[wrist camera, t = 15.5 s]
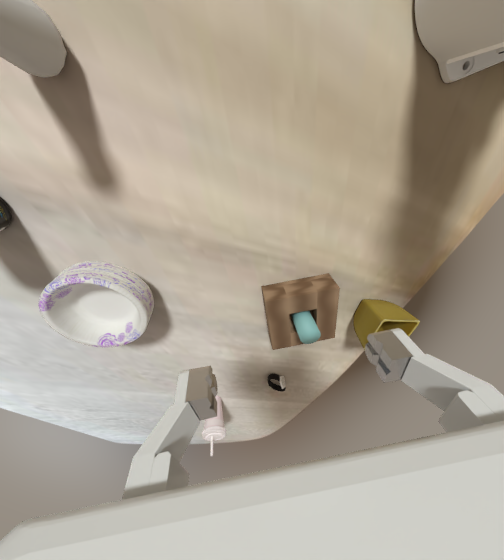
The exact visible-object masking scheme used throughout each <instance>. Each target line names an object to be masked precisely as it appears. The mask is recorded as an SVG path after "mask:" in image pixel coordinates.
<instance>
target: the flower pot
mask: <svg viewBox="0 0 504 560" xmlns="http://www.w3.org/2000/svg"><path fill="white" fill-rule="evenodd" d="M419 323H420V321H419V320H418V319H416V318H415V317H414V316H412V315H411V314H409V313H408V312H407V311H405V310H404V309H403V308H401V307H399V306H398V305H395V304H393V303H390V302H387V301H383V300H369V299H363V300H362V301H361V303H360V305H359V307H358V309H357V310H356V312H355V314H354V329H355V332H356V334H357V336H358V338H359V340H360V342H361V344H362V346H363V348H364V350H365V346H366V344H367V343H368V342H369V341H368V339H367V337H368V335H369V334H371V333H376V332H380V331H385V330H391V329H396V328H400V329H402V330H403V331H404V332H405V333H406V335H407V336H408V337H409V336H410V335H411V333H412V332H413V331H414V330H415V328H416V327H417V326H418V324H419Z"/></svg>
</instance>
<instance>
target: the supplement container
mask: <svg viewBox="0 0 504 560" xmlns="http://www.w3.org/2000/svg"><path fill="white" fill-rule="evenodd" d="M11 219H12V216H11V212H10V209H9V208H8V206H7V204H6V203H5V202H4V201H3V200H2V199H1V198H0V231H2V230H4V229H6V228H7V227H8V226H9V225H10V223H11Z"/></svg>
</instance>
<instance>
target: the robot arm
mask: <svg viewBox="0 0 504 560" xmlns="http://www.w3.org/2000/svg"><path fill="white" fill-rule="evenodd" d="M415 19H416V26H417V30H418V34H419V37H420V39H421V42H422V44H423V45H424V47H425V48H426V50H427V51H428V52H429V53H430V54H431V55H432V56H433V57H434V58H435V59H436V61H437V62H438V66H439V70H440V74H441V77H442V80H443V81H444V82H445V83H451V82H454V81H457V80H459V79H462V78H464V77H466V76H469V75H471V74H474V73H476V72H478V71H481V70H483V69H486V68H488V67H490V66H493V65H495V64H497V63H500V62H502V61H504V0H415ZM464 64H465V65H464ZM463 65H464V68H463ZM367 339H368V341H369V342H368V343H367V344H366V346H365V351H366V355H367V357H368V359H369V360H370V362H371V363H372V364H374V365H376V371H377V373H378V374H379V376H380V377H381V379H382V381H383V382H384V383H385V382H391V381H397V380H401V381H402V382H404V383H405V384H406V385H408V386H409V387H411V388H412V389H414V390H415V391H416V392H418V393H419V394H421V395H422V396H423V397H425V398H427V399H428V400H429V401H430V402H432V403H433V404H435V405H436V406H437V407H439V408H440V409H442V410H443V411H444V413H443V414H442V415H441V417H440V418H439V423H440V424H441V426H442V427H443V429H444V430H445V431H446V433H441V434H437V435H432V436H427V437H422V438H417V439H413V440H407V441H403V442H398V443H393V444H388V445H383V446H379V447H374V448H369V449H364V450H359V451H355V452H350V453H345V454H340V455H335V456H331V457H326V458H321V459H316V460H312V461H306V462H302V463H297V464H292V465H287V466H283V467H278V468H273V469H269V470H264V471H258V472H253V473H249V474H244V475H239V476H234V477H229V478H225V479H220V480H215V481H211V482H205V483H201V484H196V485H191V486H188V482H189V473H188V471H187V470H186V469H185V468H184V467H183V466H182V465H181V464H180V461H181V459H182V457H183V455H184V453H185V451H186V449H187V447H188V445H189V443H190V441H191V439H192V437H193V435H194V433H195V431H196V429H197V427H198V425H199V423H200V420H204V419H209V418H213V417H217V401H216V398H215V397H216V395H217V381H216V377H215V375H214V374H212V368H211V366H206V367H201V368H195V369H189V370H184V371H180V373H179V375H178V381H177V387H176V393H175V399H174V405H171V406H170V407H169V408H168V410H167V411H166V412H165V414H164V415H163V417H162V418H161V419H160V421H159V422H158V424H157V425H156V426H155V428H154V429H153V431H152V432H151V433H150V435H149V436H148V438H147V439H146V440H145V442H144V443H143V444H142V446H141V447H140V449H139V450H138V451H137V453H136V454H135V456H134V457H133V460H132V464H131V468H130V472H129V475H128V479H127V482H126V486H125V490H124V494H123V497H122V500H119V501H114V502H109V503H105V504H100V505H95V506H90V507H86V508H81V509H76V510H72V511H67V512H62V513H57V514H52V515H47V516H42V517H36V518H32V519H29V520H26V521H23V522H21V523H20V524H19V525H17V526H16V527H15V528H13V529H12V530H11V531H10V532H9V533H8V534H7V535H6V536H5V537H4V538H3V539H2V540H1V541H0V560H504V396H503V395H502V394H501V393H500V392H499V391H498V390H497V389H495V388H494V387H493V386H492V385H491V384H489V383H487V382H485V381H483V380H481V379H479V378H477V377H475V376H473V375H471V374H469V373H466V372H464V371H462V370H460V369H458V368H456V367H454V366H452V365H450V364H448V363H446V362H444V361H442V360H439V359H438V358H436V357H434V356H431V355H429V354H424V353H423V352H422V351H421V350H420V348H419V347H418V346H417V345H416V344H415V343H414V342H413V341H412V340H411V339H410V338H409V337H408V336H407V335H406V333H405V332H404V331H403V330H402V329H400V328H396V329H391V330H385V331H380V332H376V333H371V334H369V335H368V337H367Z"/></svg>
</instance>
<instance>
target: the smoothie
mask: <svg viewBox="0 0 504 560" xmlns="http://www.w3.org/2000/svg"><path fill="white" fill-rule="evenodd" d="M215 398H216V401H217V417H213V418H209V419H205V424H204V430H203V431H202V438H203V439H205V440H208V441H211V457H212V456H213V441H216V440H220V439H222V438H224V437H225V436H226V429H225V426H224V418H223V410H222V403H221V397H219V396H216V397H215Z"/></svg>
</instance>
